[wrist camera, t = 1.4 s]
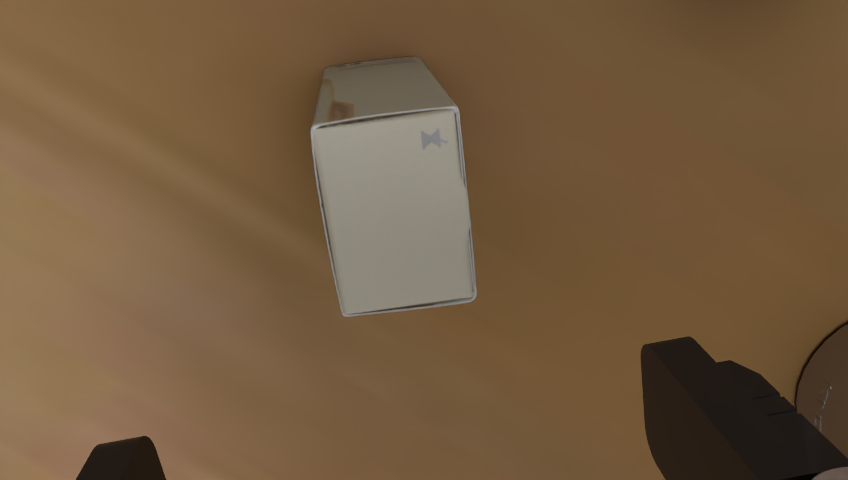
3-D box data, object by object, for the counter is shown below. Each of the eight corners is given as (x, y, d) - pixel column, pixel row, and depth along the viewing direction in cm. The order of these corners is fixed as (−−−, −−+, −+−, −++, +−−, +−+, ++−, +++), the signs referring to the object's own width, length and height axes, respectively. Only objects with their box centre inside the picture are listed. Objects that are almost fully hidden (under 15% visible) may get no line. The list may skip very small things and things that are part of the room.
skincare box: (321, 66, 31) (302, 112, 20) (421, 53, 31) (460, 92, 20) (343, 208, 33) (338, 324, 22) (437, 195, 34) (480, 304, 22)
